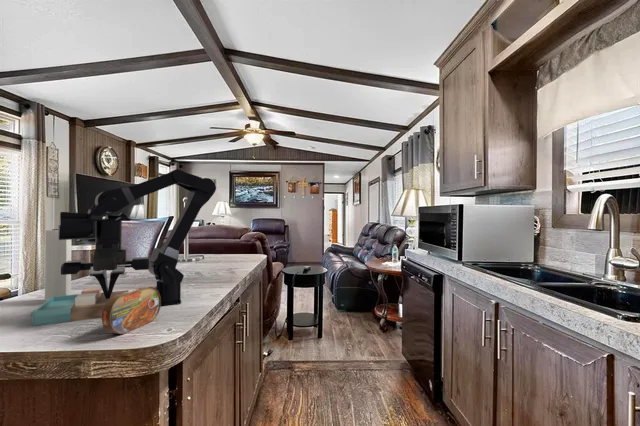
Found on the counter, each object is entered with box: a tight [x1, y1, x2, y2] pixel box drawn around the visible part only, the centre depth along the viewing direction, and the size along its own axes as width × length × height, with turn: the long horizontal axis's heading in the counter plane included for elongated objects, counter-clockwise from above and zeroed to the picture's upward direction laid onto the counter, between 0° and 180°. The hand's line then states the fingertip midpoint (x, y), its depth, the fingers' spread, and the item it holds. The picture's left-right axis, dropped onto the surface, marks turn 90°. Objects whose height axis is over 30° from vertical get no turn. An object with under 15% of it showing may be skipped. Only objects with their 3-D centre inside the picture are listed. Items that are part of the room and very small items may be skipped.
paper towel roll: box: [44, 228, 72, 302], centre depth 95 cm, size 7×6×21 cm
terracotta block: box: [80, 286, 102, 297], centre depth 88 cm, size 4×4×2 cm
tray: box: [31, 293, 81, 327], centre depth 82 cm, size 7×16×3 cm, turn 28°
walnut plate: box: [69, 289, 129, 322], centre depth 86 cm, size 11×16×3 cm
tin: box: [101, 286, 161, 335], centre depth 72 cm, size 15×3×8 cm, turn 168°
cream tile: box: [75, 293, 97, 306], centre depth 81 cm, size 4×4×2 cm
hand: (107, 298), depth 83 cm, fingers closed
